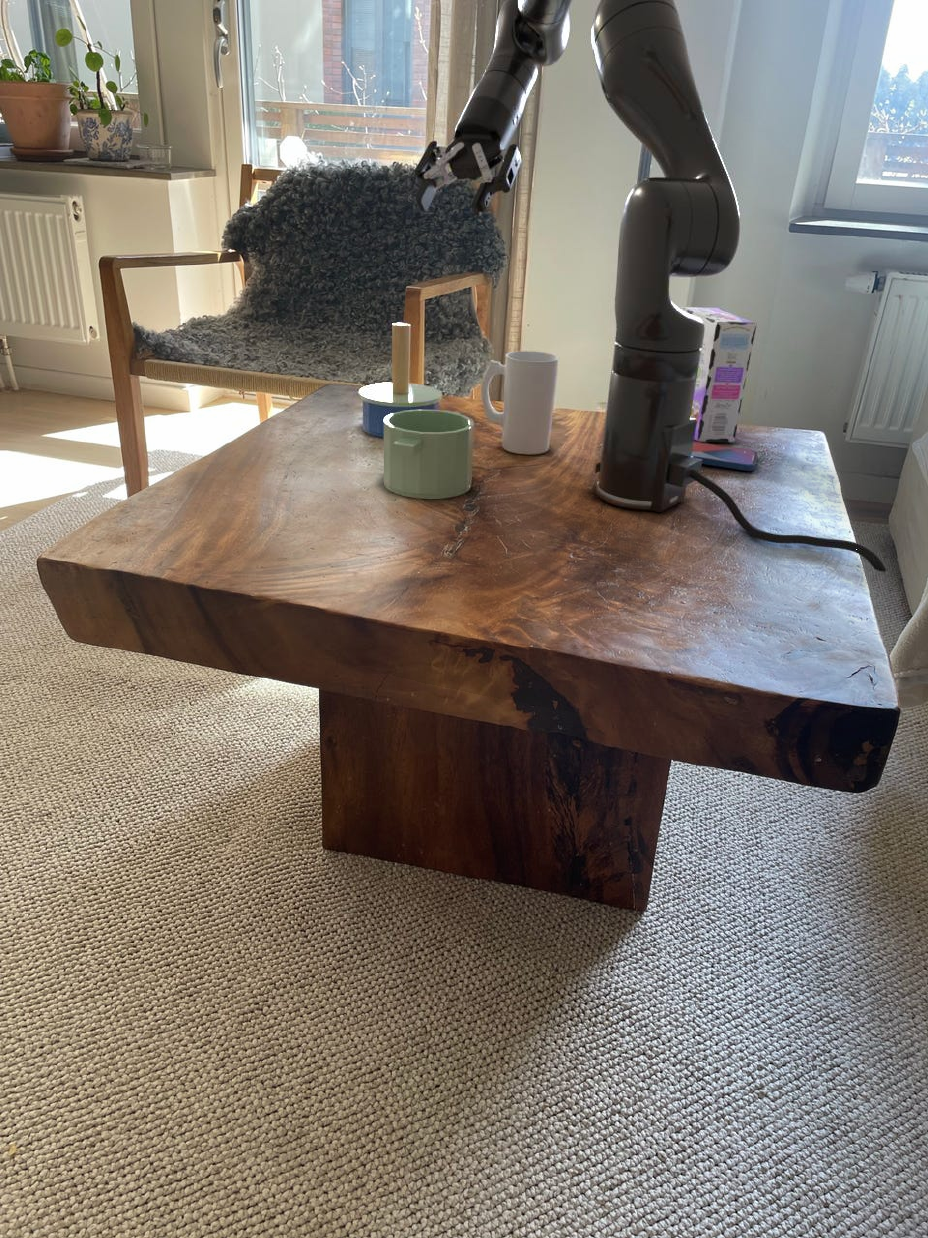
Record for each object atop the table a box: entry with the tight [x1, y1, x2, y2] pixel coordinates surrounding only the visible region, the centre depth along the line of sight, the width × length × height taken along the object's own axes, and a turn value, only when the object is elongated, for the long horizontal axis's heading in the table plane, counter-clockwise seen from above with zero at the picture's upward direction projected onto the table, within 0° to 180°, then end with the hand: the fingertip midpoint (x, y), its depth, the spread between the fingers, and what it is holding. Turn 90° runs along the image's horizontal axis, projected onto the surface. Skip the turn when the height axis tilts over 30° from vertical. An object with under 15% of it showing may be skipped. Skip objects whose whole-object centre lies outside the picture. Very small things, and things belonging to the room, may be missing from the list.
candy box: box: [680, 306, 758, 443], centre depth 127 cm, size 14×6×16 cm, turn 8°
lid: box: [358, 322, 443, 407], centre depth 120 cm, size 11×11×10 cm
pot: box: [383, 409, 475, 500], centre depth 102 cm, size 10×16×8 cm, turn 161°
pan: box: [362, 400, 440, 439], centre depth 123 cm, size 10×10×4 cm
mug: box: [480, 350, 560, 456], centre depth 116 cm, size 10×7×12 cm, turn 69°
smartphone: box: [691, 441, 758, 472], centre depth 118 cm, size 7×15×1 cm, turn 71°
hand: (448, 208), depth 121 cm, fingers open, 8 cm apart
